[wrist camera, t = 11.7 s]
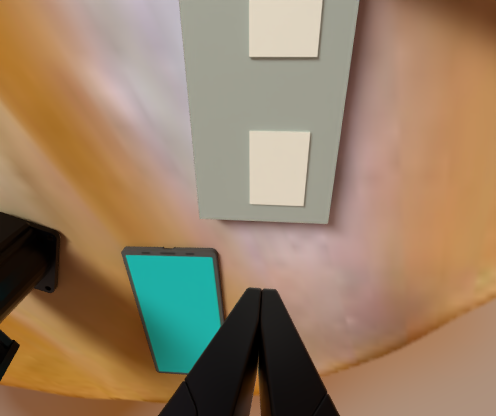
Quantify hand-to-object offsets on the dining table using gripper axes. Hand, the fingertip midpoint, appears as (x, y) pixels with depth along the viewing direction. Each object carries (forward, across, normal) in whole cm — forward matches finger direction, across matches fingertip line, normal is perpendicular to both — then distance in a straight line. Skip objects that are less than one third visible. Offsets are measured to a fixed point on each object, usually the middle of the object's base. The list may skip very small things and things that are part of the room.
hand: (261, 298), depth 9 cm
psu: (+12, 0, -4) cm, 12 cm away
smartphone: (+12, +7, +15) cm, 21 cm away
